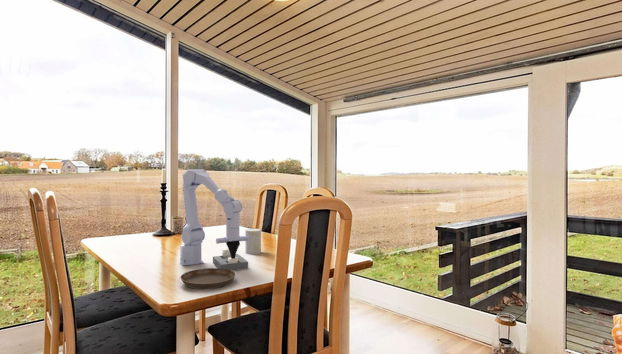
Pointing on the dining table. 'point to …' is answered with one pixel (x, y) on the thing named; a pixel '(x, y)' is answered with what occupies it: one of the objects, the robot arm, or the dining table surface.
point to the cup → (253, 241)
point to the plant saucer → (208, 278)
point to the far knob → (225, 253)
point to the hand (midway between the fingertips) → (232, 258)
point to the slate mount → (223, 264)
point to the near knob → (232, 260)
